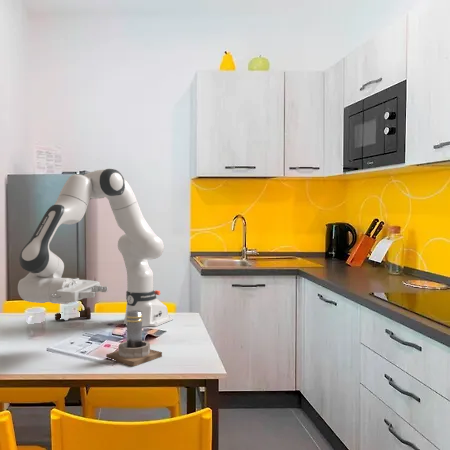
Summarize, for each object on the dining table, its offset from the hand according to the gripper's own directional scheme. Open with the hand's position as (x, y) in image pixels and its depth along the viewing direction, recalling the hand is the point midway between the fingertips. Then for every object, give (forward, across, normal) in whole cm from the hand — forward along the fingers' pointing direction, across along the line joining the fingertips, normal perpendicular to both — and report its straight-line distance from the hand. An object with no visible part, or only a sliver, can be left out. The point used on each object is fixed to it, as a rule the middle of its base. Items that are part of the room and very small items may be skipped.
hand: (101, 291), depth 170 cm
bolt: (-35, +45, +23) cm, 62 cm away
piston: (+12, 0, +20) cm, 23 cm away
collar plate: (+12, 0, +22) cm, 25 cm away
